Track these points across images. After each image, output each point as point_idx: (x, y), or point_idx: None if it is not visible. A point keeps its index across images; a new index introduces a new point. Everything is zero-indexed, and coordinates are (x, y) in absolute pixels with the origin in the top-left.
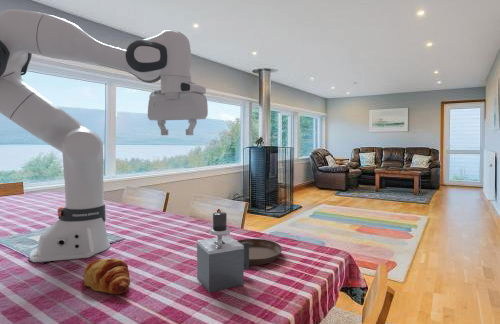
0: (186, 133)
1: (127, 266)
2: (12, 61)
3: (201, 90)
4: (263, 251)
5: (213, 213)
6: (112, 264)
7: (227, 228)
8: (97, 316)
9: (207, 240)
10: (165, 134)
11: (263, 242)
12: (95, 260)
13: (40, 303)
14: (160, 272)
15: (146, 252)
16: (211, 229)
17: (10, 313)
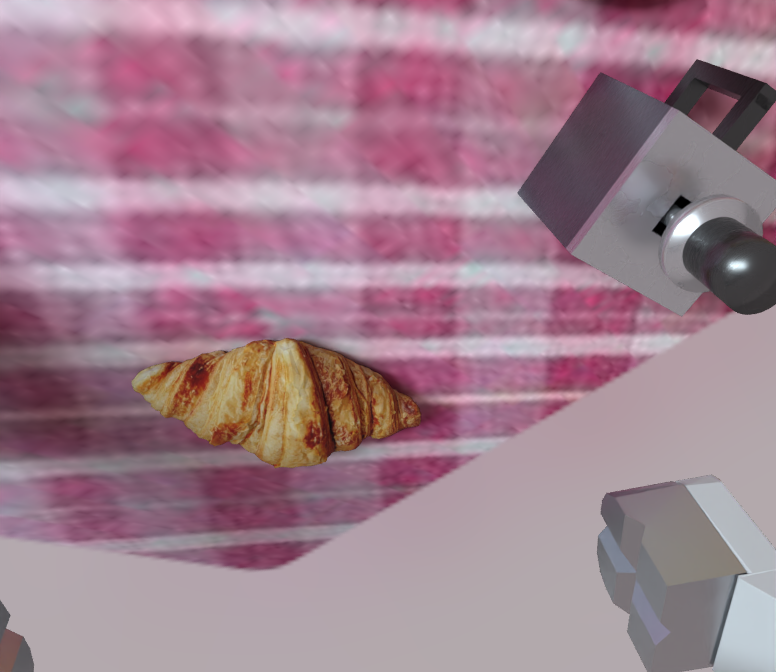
0: (629, 591)
1: (305, 354)
2: None
3: None
4: None
5: (727, 297)
6: (326, 432)
7: (744, 216)
8: (432, 471)
9: (615, 229)
10: (20, 660)
11: None
12: (219, 433)
13: (256, 520)
14: (361, 237)
15: (98, 120)
16: (678, 270)
17: (253, 563)
